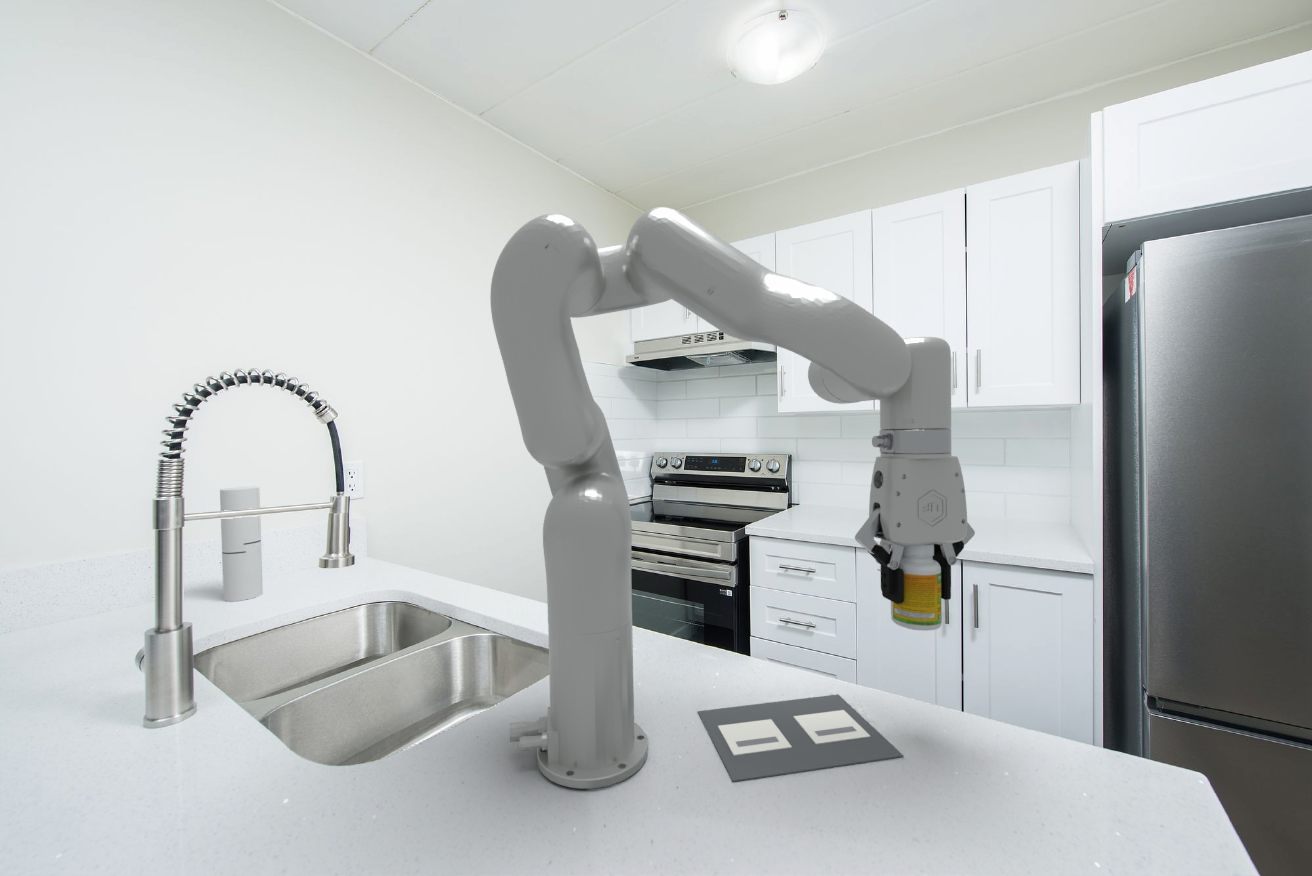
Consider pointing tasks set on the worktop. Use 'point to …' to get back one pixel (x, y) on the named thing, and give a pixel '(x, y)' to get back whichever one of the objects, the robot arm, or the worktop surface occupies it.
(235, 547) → the cylindrical container
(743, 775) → the label mat
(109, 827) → the worktop surface
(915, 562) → the supplement bottle
